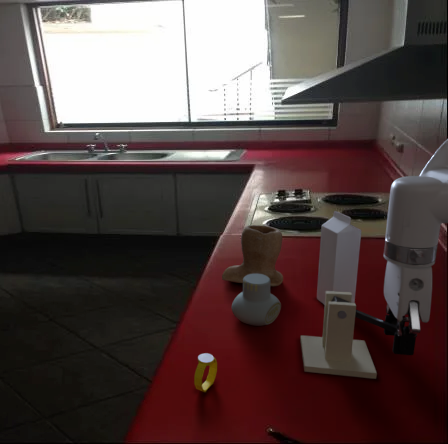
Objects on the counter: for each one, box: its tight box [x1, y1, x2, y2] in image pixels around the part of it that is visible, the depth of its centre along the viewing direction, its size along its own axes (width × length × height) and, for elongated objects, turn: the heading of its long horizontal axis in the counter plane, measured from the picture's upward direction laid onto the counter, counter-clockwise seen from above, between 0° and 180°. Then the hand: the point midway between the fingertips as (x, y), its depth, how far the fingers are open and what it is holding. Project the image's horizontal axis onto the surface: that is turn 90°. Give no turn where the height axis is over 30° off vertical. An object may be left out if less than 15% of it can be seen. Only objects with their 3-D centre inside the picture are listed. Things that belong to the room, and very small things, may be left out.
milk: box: [316, 210, 362, 306], centre depth 95 cm, size 6×6×22 cm
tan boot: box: [221, 224, 284, 287], centre depth 110 cm, size 15×12×15 cm
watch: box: [193, 352, 218, 393], centre depth 73 cm, size 6×3×6 cm, turn 146°
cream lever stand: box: [299, 291, 378, 380], centre depth 77 cm, size 12×10×13 cm
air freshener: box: [231, 274, 282, 327], centre depth 92 cm, size 11×8×10 cm
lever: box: [331, 296, 397, 333], centre depth 75 cm, size 13×5×2 cm, turn 75°
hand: (397, 343), depth 75 cm, fingers closed on lever, 5 cm apart
